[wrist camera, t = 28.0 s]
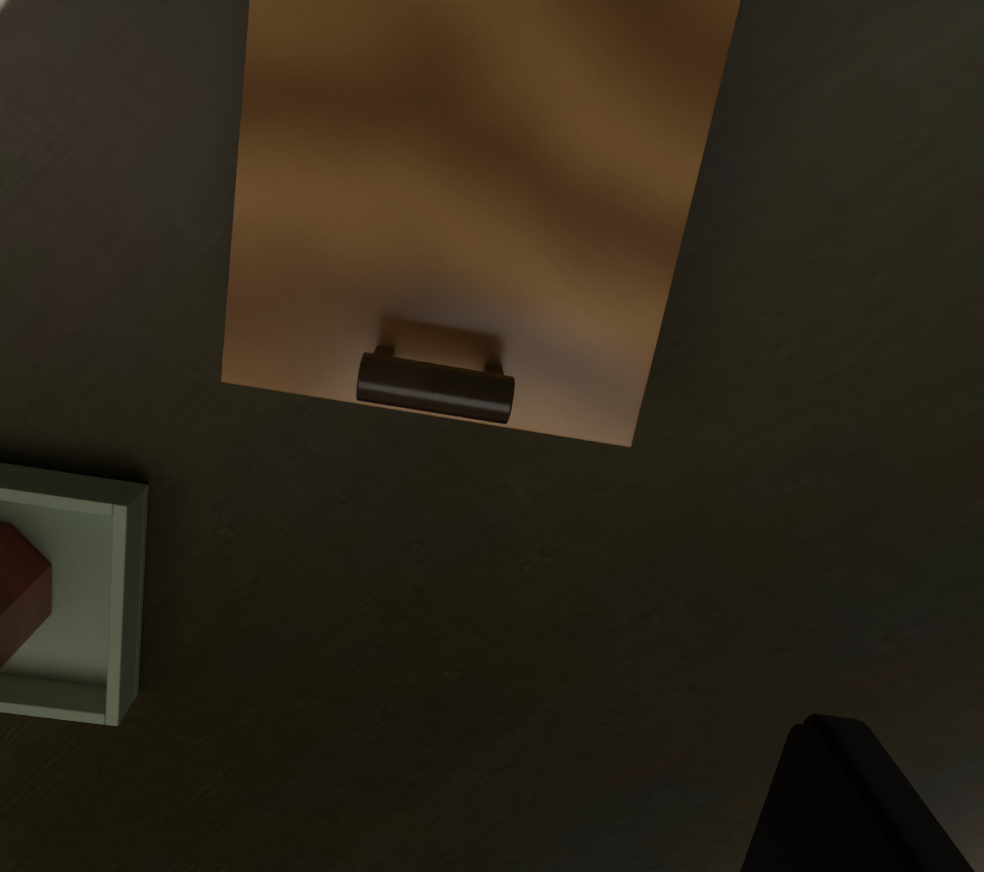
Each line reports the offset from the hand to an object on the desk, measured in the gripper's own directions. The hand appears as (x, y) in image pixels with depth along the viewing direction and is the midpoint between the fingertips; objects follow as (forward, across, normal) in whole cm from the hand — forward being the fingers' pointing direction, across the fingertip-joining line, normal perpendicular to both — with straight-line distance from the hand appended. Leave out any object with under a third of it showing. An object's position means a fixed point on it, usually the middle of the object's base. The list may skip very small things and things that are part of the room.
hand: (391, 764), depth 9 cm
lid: (+22, 0, -7) cm, 23 cm away
